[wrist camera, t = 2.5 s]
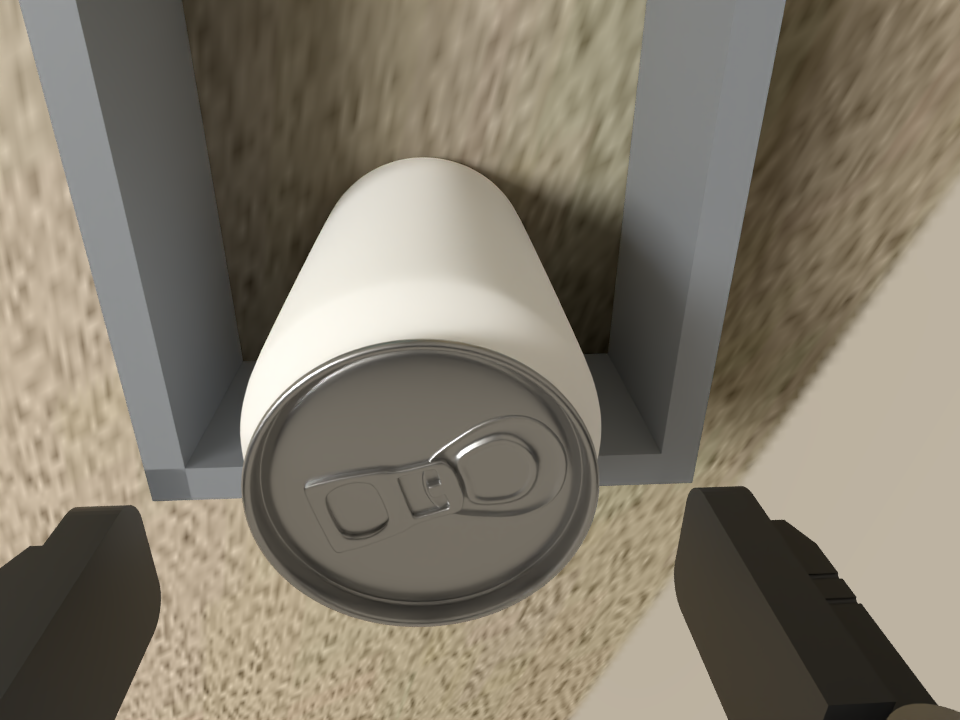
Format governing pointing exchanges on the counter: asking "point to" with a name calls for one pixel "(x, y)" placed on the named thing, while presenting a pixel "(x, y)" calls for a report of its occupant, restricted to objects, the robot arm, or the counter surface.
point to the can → (420, 409)
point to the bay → (202, 264)
